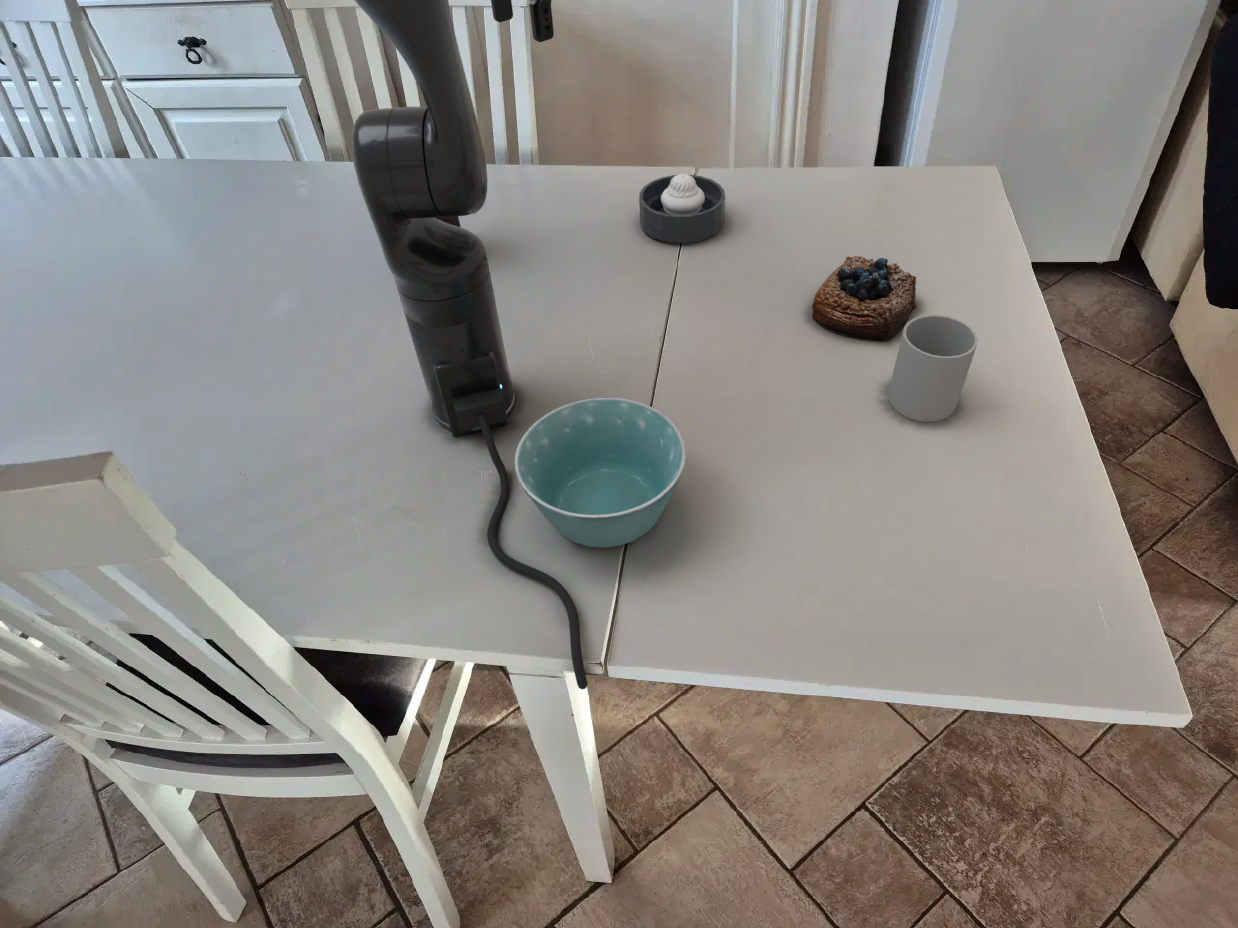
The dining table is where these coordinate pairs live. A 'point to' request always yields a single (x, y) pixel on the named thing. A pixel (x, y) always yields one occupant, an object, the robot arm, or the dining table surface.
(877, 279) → the pastry
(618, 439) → the bowl
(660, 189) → the grey shallow dish
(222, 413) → the dining table surface
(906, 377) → the cup
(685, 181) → the white cupcake
